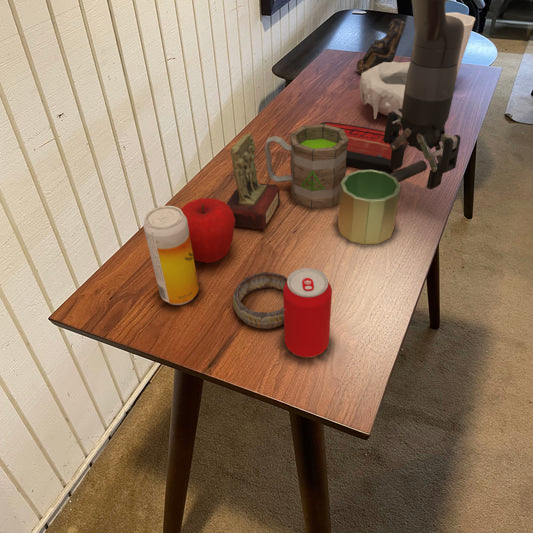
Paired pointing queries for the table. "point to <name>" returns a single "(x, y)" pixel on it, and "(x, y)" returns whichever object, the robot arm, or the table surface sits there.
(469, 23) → the cup
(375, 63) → the statue
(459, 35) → the robot arm
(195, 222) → the apple
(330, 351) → the table surface
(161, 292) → the beer can
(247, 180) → the sculpture
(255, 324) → the decorative ring
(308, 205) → the mug
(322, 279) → the beverage can
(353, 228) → the pot
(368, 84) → the bowl
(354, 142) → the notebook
